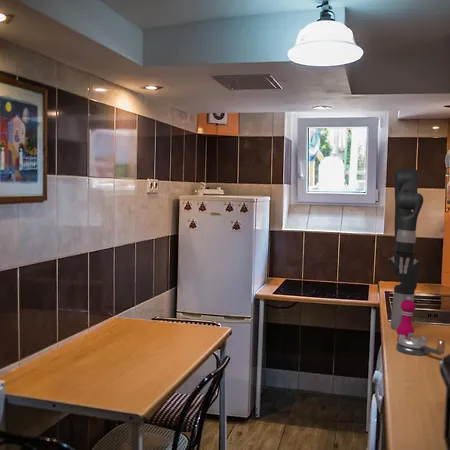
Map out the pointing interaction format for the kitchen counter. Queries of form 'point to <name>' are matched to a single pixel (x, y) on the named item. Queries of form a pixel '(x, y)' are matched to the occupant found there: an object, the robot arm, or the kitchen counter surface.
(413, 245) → the robot arm
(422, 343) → the crank handle
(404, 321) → the pepper mill
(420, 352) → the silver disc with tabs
